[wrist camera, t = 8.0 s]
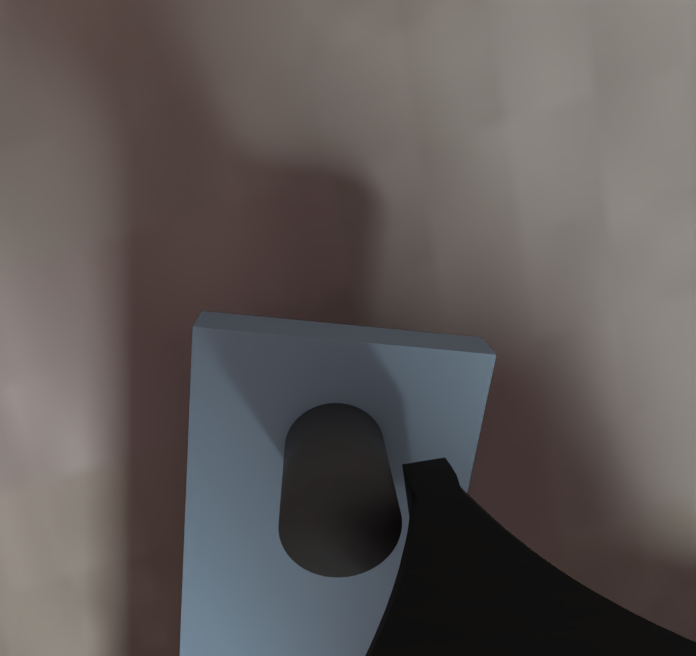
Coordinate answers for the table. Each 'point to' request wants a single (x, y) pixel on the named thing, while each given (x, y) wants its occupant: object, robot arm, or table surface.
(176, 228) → the table surface
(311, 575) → the cover
